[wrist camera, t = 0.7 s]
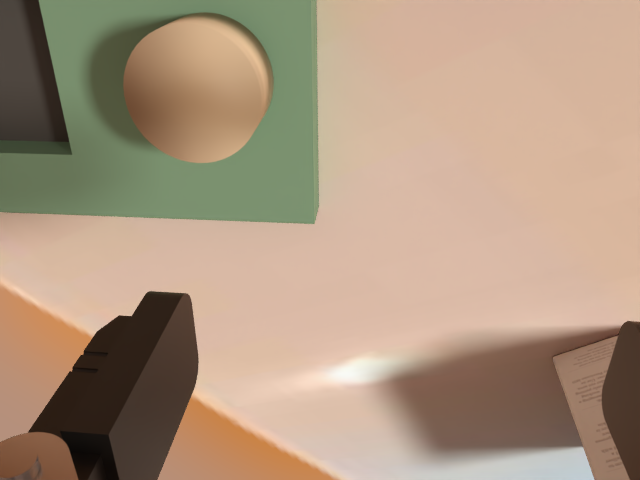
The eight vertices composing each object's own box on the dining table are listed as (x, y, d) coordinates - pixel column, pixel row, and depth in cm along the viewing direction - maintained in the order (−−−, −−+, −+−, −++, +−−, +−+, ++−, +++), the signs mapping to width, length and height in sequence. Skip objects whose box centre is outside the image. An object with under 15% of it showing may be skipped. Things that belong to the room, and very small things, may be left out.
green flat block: (-158, -97, 27) (-265, -99, 22) (315, -104, 25) (298, -107, 20) (-59, 193, 33) (-127, 235, 29) (318, 206, 31) (307, 254, 27)
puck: (140, 11, 25) (112, 23, 23) (270, 12, 25) (256, 24, 22) (158, 138, 28) (135, 161, 26) (276, 141, 28) (264, 165, 25)
